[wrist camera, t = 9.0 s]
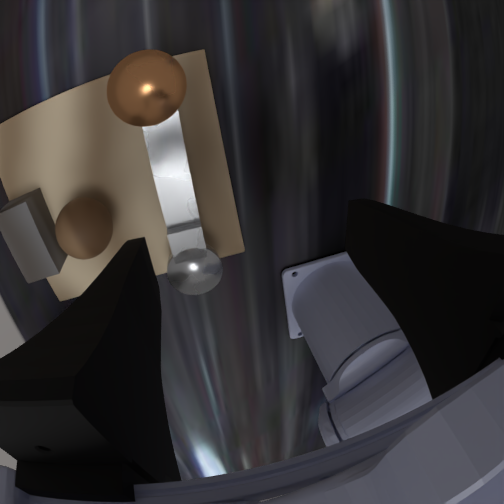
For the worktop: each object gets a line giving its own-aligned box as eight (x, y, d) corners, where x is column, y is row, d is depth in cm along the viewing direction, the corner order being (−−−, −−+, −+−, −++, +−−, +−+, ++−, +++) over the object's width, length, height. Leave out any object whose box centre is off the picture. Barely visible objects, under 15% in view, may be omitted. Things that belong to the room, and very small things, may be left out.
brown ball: (93, 205, 14) (38, 230, 14) (121, 259, 17) (69, 279, 16) (101, 178, 17) (52, 201, 17) (123, 226, 19) (77, 245, 19)
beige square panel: (202, 51, 16) (208, 44, 13) (242, 246, 23) (253, 273, 20) (-7, 129, 14) (-34, 141, 11) (64, 295, 21) (54, 324, 19)
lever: (222, 270, 22) (239, 331, 17) (174, 281, 22) (179, 345, 17) (181, 54, 14) (186, 41, 9) (120, 69, 14) (95, 63, 9)
